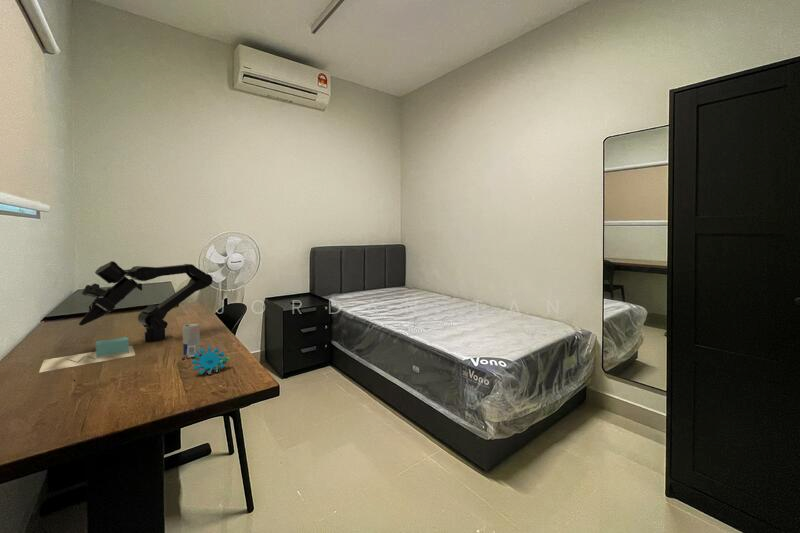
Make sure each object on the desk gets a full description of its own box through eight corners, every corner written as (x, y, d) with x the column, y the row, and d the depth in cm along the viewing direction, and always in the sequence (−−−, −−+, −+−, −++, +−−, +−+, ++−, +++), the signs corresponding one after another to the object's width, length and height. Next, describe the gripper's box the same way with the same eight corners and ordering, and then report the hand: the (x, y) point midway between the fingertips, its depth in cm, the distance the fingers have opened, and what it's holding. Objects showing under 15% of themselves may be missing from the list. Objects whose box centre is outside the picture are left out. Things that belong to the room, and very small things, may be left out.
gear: (191, 374, 104) (193, 346, 110) (189, 382, 108) (191, 354, 113) (230, 371, 110) (229, 345, 116) (227, 379, 114) (226, 353, 120)
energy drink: (188, 353, 127) (187, 323, 126) (203, 353, 127) (202, 323, 126) (180, 358, 121) (179, 326, 120) (195, 358, 122) (194, 326, 121)
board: (132, 348, 131) (132, 345, 131) (135, 358, 121) (135, 355, 121) (44, 363, 115) (43, 359, 115) (39, 376, 105) (38, 372, 105)
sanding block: (128, 349, 127) (127, 336, 126) (129, 352, 123) (128, 339, 123) (96, 354, 121) (95, 341, 120) (96, 358, 117) (95, 344, 116)
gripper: (96, 281, 130) (56, 312, 121) (101, 273, 118) (57, 308, 108) (123, 299, 135) (87, 330, 126) (130, 293, 122) (91, 328, 113)
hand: (80, 324), depth 118 cm, fingers open, 9 cm apart
